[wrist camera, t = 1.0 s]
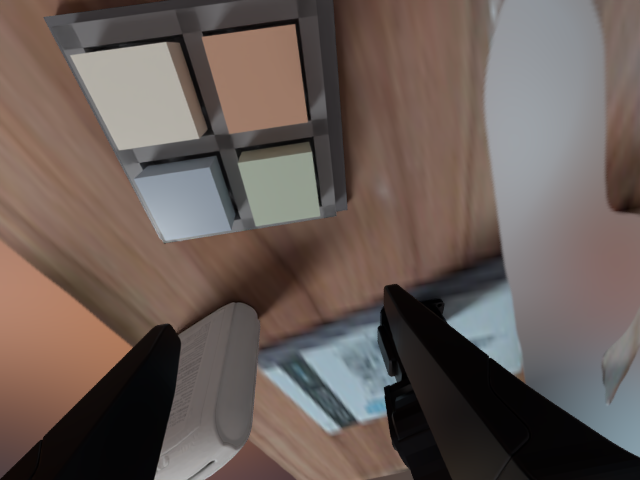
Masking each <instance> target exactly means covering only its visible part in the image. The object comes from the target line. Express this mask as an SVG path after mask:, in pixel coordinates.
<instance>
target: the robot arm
mask: <svg viewBox="0 0 640 480" xmlns="http://www.w3.org/2000/svg"><path fill="white" fill-rule="evenodd" d="M443 309H444V302H443V301H442V300H441V299H437V300H431V301H425V302H419V301H418V300H417V299H415V298H414V297H413V296H412V295H410V294H409V293H408V292H407V291H405V290H404V289H403V288H401V287H400V286H399V285H397V284H392V285H386V286H385V287H384V309H382V310H381V312H380V326H379V327H378V345H379V348H380V351H381V354H382V357H383V360H384V363H385V366H386V369H387V372H388V375H390V376H391V377H392V376H395V378H396V381H397V383H395V384H392V385H388V386H386V387H384V392H385V403H386V410H387V416H388V423H389V429H390V436H391V439H392V445H393V448H394V449H395V450H396V451H398V453H399V455H400V457H401V459H402V460H403V462H404V463H405V465H406V466H407V467H408V468H409V469H410V470H411V473H412V476H413V479H414V480H640V457H638V456H636V455H634V454H632V453H630V452H628V451H626V450H624V449H623V448H621V447H619V446H618V445H616V444H614V443H613V442H611V441H609V440H608V439H606V438H605V437H603V436H602V435H600V434H599V433H597V432H596V431H594V430H593V429H591V428H590V427H588V426H587V425H585V424H584V423H582V422H581V421H579V420H578V419H576V418H575V417H573V416H572V415H570V414H569V413H567V412H566V411H564V410H563V409H561V408H560V407H558V406H557V405H555V404H554V403H552V402H551V401H549V400H548V399H546V398H545V397H544V396H542V395H541V394H539V393H538V392H536V391H535V390H533V389H532V388H530V387H529V386H528V385H526V384H525V383H523V382H522V381H521V380H519V379H518V378H517V377H515V376H514V375H513V374H511V373H510V372H509V371H507V370H506V369H505V368H503V367H502V366H501V365H500V364H498V363H497V362H496V361H495V360H493V359H492V358H489V356H488V355H487V354H485V353H484V352H483V351H482V350H480V349H479V348H478V347H477V346H475V345H474V344H473V343H471V342H470V341H469V340H468V339H466V338H465V337H464V336H463V335H461V334H460V333H459V332H457V331H456V330H455V329H454V328H452V327H451V326H450V325H449V324H448V323H447V322H446V320H445V318H444V317H443V315H442V314H443ZM180 351H181V340H180V338H179V336H178V335H177V333H176V332H175V330H174V329H173V327H172V326H171V325H170V324H162V325H157V326H155V327H154V328H152V329H151V330H150V331H149V332H148V333H147V334H146V335H145V336H144V337H143V338H142V339H141V340H140V341H139V342H138V343H137V344H136V345H135V346H134V347H133V348H132V349H131V350H130V351H129V352H128V353H127V354H126V355H125V356H124V357H123V358H122V359H121V360H120V361H119V362H118V363H117V364H116V365H115V366H114V367H113V368H112V369H111V370H110V371H109V372H108V373H107V374H106V375H105V376H104V377H103V378H102V379H101V380H100V381H99V382H98V383H97V384H96V385H95V386H94V387H93V388H92V389H91V390H90V391H89V392H88V393H87V394H86V395H85V396H84V397H83V398H82V399H81V400H80V401H79V402H78V403H77V404H76V405H75V406H74V407H73V408H72V409H71V410H70V411H69V412H68V413H67V414H66V415H65V416H64V417H63V418H62V419H61V420H60V421H59V422H58V423H57V424H56V425H55V426H54V427H53V428H52V429H51V430H50V431H49V432H48V433H47V434H46V435H45V436H44V437H43V440H40V441H39V442H38V443H37V444H36V445H35V446H34V447H33V448H31V450H30V451H29V452H28V453H26V454H25V455H24V456H23V457H22V458H21V459H20V460H19V461H18V462H17V463H16V464H15V465H14V466H13V467H12V468H11V469H10V470H9V471H8V472H7V473H6V474H5V475H4V476H3V477H2V478H1V479H0V480H154V478H155V474H156V470H157V466H158V462H159V458H160V453H161V449H162V445H163V441H164V437H165V433H166V429H167V424H168V420H169V416H170V412H171V408H172V404H173V399H174V395H175V389H176V382H177V374H178V367H179V359H180Z"/></svg>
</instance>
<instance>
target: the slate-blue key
mask: <svg viewBox="0 0 640 480" xmlns="http://www.w3.org/2000/svg"><path fill="white" fill-rule="evenodd" d="M134 181H135V183H136V185H137V187H138V188H139V190H140V192H141V194H142V196H143V198H144V200H145V202H146V204H147V206H148V208H149V210H150V212H151V214H152V216H153V218H154V220H155V221H156V223H157V225H158V227H159V229H160V231H161V233H162V235H163V237H164V239H165V241H168V240H174V239H180V238H187V237H193V236H199V235H206V234H212V233H218V232H225V231H231V230H232V226H233V222H234V219H235V215H236V214H235V211H234V208H233V205H232V202H231V199H230V196H229V193H228V190H227V187H226V184H225V181H224V177H223V174H222V171H221V168H220V165H219V162H218V159H217V156H211V157H204V158H197V159H191V160H184V161H178V162H171V163H164V164H158V165H151V166H147V167H146V168H145V169H144V170H143V171H142V172H141V173H140V174H138V175H137V176H136V177H135V178H134Z"/></svg>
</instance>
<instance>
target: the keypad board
mask: <svg viewBox="0 0 640 480" xmlns="http://www.w3.org/2000/svg"><path fill="white" fill-rule="evenodd" d="M43 18H44V20H45V21H46V23H47V25H48V27H49V29H50V31H51V33H52V35H53V37H54V39H55V40H56V42H57V44H58V46H59V48H60V50H61V52H62V54H63V56H64V58H65V59H66V61H67V63H68V65H69V67H70V69H71V71H72V73H73V75H74V77H75V78H76V80H77V82H78V84H79V86H80V88H81V90H82V92H83V94H84V96H85V97H86V99H87V101H88V103H89V105H90V107H91V109H92V111H93V113H94V115H95V116H96V118H97V120H98V122H99V124H100V126H101V128H102V130H103V132H104V134H105V135H106V137H107V139H108V141H109V143H110V145H111V147H112V149H113V151H114V153H115V154H116V156H117V158H118V160H119V162H120V164H121V166H122V168H123V170H124V172H125V173H126V175H127V177H128V179H129V181H130V183H131V185H132V187H133V189H134V191H135V193H136V194H137V196H138V198H139V200H140V202H141V204H142V206H143V208H144V210H145V212H146V213H147V215H148V217H149V219H150V221H151V223H152V225H153V227H154V229H155V231H156V232H157V234H158V236H159V238H160V239H162V240H163V242H164V243H169V242H176V241H182V240H188V239H195V238H201V237H207V236H213V235H220V234H226V233H232V232H239V231H245V230H251V229H258V228H264V227H270V226H276V225H283V224H289V223H295V222H302V221H308V220H314V219H320V218H327V217H333V216H336V212H337V211H343V210H347V195H346V181H345V166H344V152H343V138H342V123H341V109H340V94H339V80H338V66H337V51H336V37H335V22H334V8H333V0H168V1H160V2H153V3H145V4H138V5H131V6H123V7H116V8H108V9H101V10H93V11H86V12H78V13H71V14H64V15H56V16H49V17H43ZM292 24H295V28H296V36H297V43H298V51H299V58H300V66H301V73H302V81H303V88H304V96H305V104H306V111H307V119H308V122H307V123H300V124H294V125H287V126H280V127H274V128H267V129H260V130H253V131H247V132H240V133H233V134H229V131H228V128H227V124H226V121H225V117H224V114H223V110H222V107H221V103H220V100H219V97H218V93H217V90H216V86H215V83H214V79H213V76H212V72H211V69H210V65H209V62H208V58H207V55H206V51H205V48H204V44H203V41H202V37H205V36H213V35H220V34H227V33H234V32H241V31H249V30H256V29H263V28H270V27H278V26H285V25H292ZM162 42H176V43H180V45H181V48H182V51H183V54H184V57H185V60H186V64H187V67H188V70H189V73H190V76H191V79H192V82H193V85H194V88H195V91H196V94H197V97H198V100H199V104H200V107H201V110H202V113H203V116H204V119H205V122H206V125H207V128H208V130H207V131H206V132H205V133H204V134H203V135H202V136H201V137H200V138H199V139H193V140H186V141H180V142H173V143H166V144H159V145H153V146H146V147H139V148H132V149H126V150H118V148H117V146H116V144H115V142H114V140H113V138H112V136H111V134H110V132H109V130H108V128H107V126H106V124H105V122H104V121H103V119H102V117H101V115H100V113H99V111H98V109H97V107H96V105H95V103H94V101H93V99H92V97H91V95H90V93H89V91H88V89H87V88H86V86H85V84H84V82H83V80H82V78H81V76H80V74H79V72H78V70H77V68H76V66H75V64H74V62H73V60H72V58H71V56H70V55H76V54H83V53H90V52H97V51H104V50H112V49H119V48H126V47H133V46H141V45H148V44H155V43H162ZM303 142H309V144H310V147H311V151H312V156H313V164H314V172H315V179H316V187H317V194H318V202H319V209H320V216H319V217H313V218H306V219H300V220H294V221H288V222H281V223H275V224H269V225H262V226H255V222H254V219H253V215H252V212H251V208H250V205H249V201H248V198H247V194H246V191H245V187H244V184H243V180H242V177H241V173H240V170H239V166H238V161H239V158H240V155H241V153H242V152H244V151H250V150H257V149H264V148H270V147H277V146H284V145H290V144H297V143H303ZM211 156H217V159H218V162H219V165H220V168H221V171H222V174H223V177H224V181H225V184H226V187H227V190H228V193H229V196H230V199H231V202H232V205H233V208H234V211H235V214H236V215H235V219H234V222H233V226H232V230H231V231H225V232H218V233H212V234H206V235H199V236H193V237H187V238H180V239H174V240H168V241H165V239H164V237H163V235H162V233H161V231H160V229H159V227H158V225H157V223H156V221H155V220H154V218H153V216H152V214H151V212H150V210H149V208H148V206H147V204H146V202H145V200H144V198H143V196H142V194H141V192H140V190H139V188H138V187H137V185H136V183H135V181H134V178H135V177H136V176H137V175H138V174H140V173H141V172H142V171H143V170H144V169H145V168H146V167H147V166H151V165H158V164H164V163H171V162H178V161H184V160H191V159H197V158H204V157H211Z"/></svg>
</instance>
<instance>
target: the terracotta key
mask: <svg viewBox="0 0 640 480" xmlns="http://www.w3.org/2000/svg"><path fill="white" fill-rule="evenodd" d="M202 41H203V44H204V48H205V51H206V55H207V58H208V62H209V65H210V69H211V72H212V76H213V79H214V83H215V86H216V90H217V93H218V97H219V100H220V103H221V107H222V110H223V114H224V117H225V121H226V124H227V128H228V131H229V134H233V133H240V132H247V131H253V130H260V129H267V128H274V127H280V126H287V125H294V124H300V123H307V122H308V119H307V111H306V104H305V96H304V88H303V81H302V73H301V66H300V58H299V51H298V43H297V36H296V28H295V24H292V25H285V26H278V27H270V28H263V29H256V30H249V31H241V32H234V33H227V34H220V35H213V36H205V37H202Z"/></svg>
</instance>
